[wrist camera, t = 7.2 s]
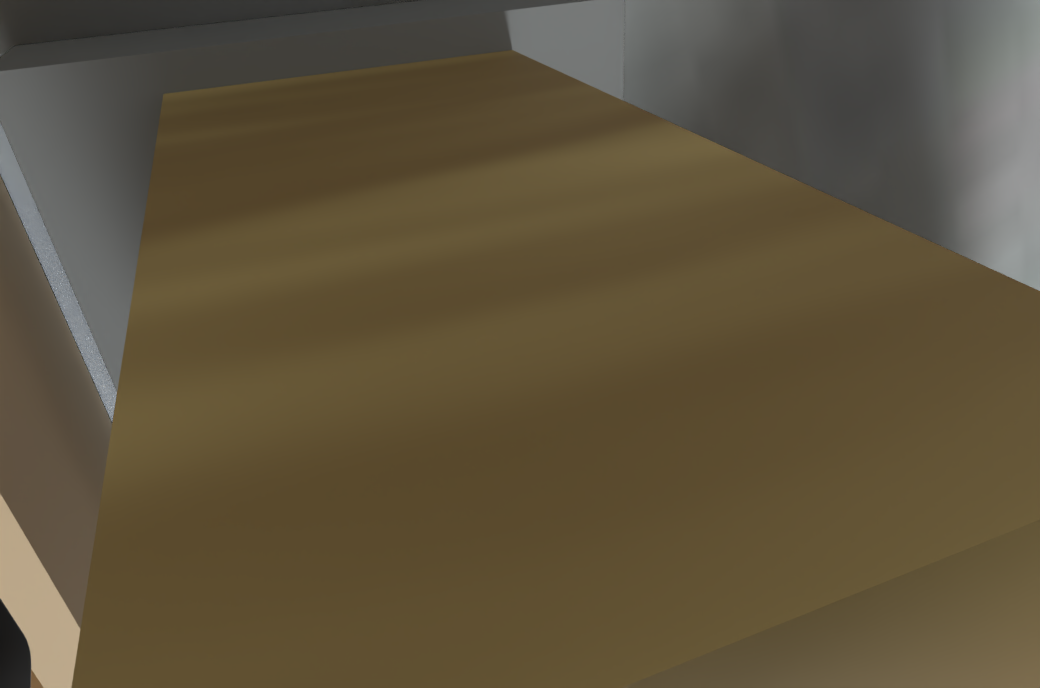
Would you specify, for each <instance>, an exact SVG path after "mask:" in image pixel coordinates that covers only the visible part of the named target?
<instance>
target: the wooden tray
mask: <svg viewBox="0 0 1040 688" xmlns="http://www.w3.org/2000/svg"><path fill="white" fill-rule="evenodd" d="M111 429H112V423H111V421H110V418H109V416H108V414H107V412H106V409H105V407H104V405H103V403H102V401H101V398H100V396H99V394H98V392H97V389H96V387H95V385H94V383H93V381H92V378H91V376H90V374H89V372H88V369H87V367H86V365H85V363H84V361H83V358H82V356H81V354H80V352H79V349H78V347H77V345H76V343H75V340H74V338H73V336H72V334H71V332H70V329H69V327H68V325H67V323H66V320H65V318H64V316H63V314H62V312H61V309H60V307H59V305H58V303H57V300H56V298H55V296H54V294H53V292H52V289H51V287H50V285H49V283H48V280H47V278H46V276H45V274H44V272H43V269H42V267H41V265H40V263H39V260H38V258H37V256H36V254H35V251H34V249H33V247H32V245H31V243H30V240H29V238H28V236H27V234H26V231H25V229H24V227H23V225H22V223H21V220H20V218H19V216H18V214H17V211H16V209H15V207H14V205H13V203H12V200H11V198H10V196H9V194H8V191H7V189H6V187H5V185H4V183H3V180H2V178H1V176H0V599H1V600H2V602H3V603H4V605H5V606H6V608H7V609H8V611H9V612H10V614H11V615H12V617H13V618H14V620H15V621H16V623H17V625H18V626H19V628H20V629H21V631H22V632H23V634H24V635H25V637H26V639H27V642H28V645H29V648H30V653H31V688H71V687H72V681H73V674H74V668H75V661H76V655H77V648H78V642H79V635H80V629H81V623H82V616H83V610H84V603H85V597H86V590H87V584H88V577H89V571H90V564H91V558H92V552H93V545H94V539H95V532H96V526H97V519H98V513H99V506H100V500H101V494H102V487H103V481H104V474H105V468H106V461H107V455H108V448H109V442H110V435H111Z"/></svg>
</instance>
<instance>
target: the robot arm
mask: <svg viewBox="0 0 1040 688" xmlns="http://www.w3.org/2000/svg"><path fill="white" fill-rule="evenodd" d="M0 688H31V653H30V648H29V645H28V642H27V639H26V637H25V635H24V634H23V632H22V631H21V629H20V628H19V626H18V625H17V623H16V621H15V620H14V618H13V617H12V615H11V614H10V612H9V611H8V609H7V608H6V606H5V605H4V603H3V602H2V600H1V599H0Z"/></svg>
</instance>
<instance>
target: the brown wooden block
mask: <svg viewBox="0 0 1040 688" xmlns="http://www.w3.org/2000/svg"><path fill="white" fill-rule="evenodd" d="M71 688H1040V291H1038V290H1036V289H1034V288H1032V287H1029V286H1027V285H1025V284H1023V283H1021V282H1018V281H1016V280H1014V279H1012V278H1010V277H1007V276H1005V275H1003V274H1001V273H999V272H997V271H994V270H992V269H990V268H988V267H986V266H983V265H981V264H979V263H977V262H975V261H973V260H970V259H968V258H966V257H964V256H962V255H959V254H957V253H955V252H953V251H951V250H948V249H946V248H944V247H942V246H940V245H938V244H935V243H933V242H931V241H929V240H927V239H924V238H922V237H920V236H918V235H916V234H913V233H911V232H909V231H907V230H905V229H903V228H900V227H898V226H896V225H894V224H892V223H889V222H887V221H885V220H883V219H881V218H879V217H876V216H874V215H872V214H870V213H868V212H865V211H863V210H861V209H859V208H857V207H854V206H852V205H850V204H848V203H846V202H844V201H841V200H839V199H837V198H835V197H833V196H830V195H828V194H826V193H824V192H822V191H820V190H817V189H815V188H813V187H811V186H809V185H806V184H804V183H802V182H800V181H798V180H795V179H793V178H791V177H789V176H787V175H785V174H782V173H780V172H778V171H776V170H774V169H771V168H769V167H767V166H765V165H763V164H761V163H758V162H756V161H754V160H752V159H750V158H747V157H745V156H743V155H741V154H739V153H736V152H734V151H732V150H730V149H728V148H726V147H723V146H721V145H719V144H717V143H715V142H712V141H710V140H708V139H706V138H704V137H701V136H699V135H697V134H695V133H693V132H691V131H688V130H686V129H684V128H682V127H680V126H677V125H675V124H673V123H671V122H669V121H667V120H664V119H662V118H660V117H658V116H656V115H653V114H651V113H649V112H647V111H645V110H642V109H640V108H638V107H636V106H634V105H632V104H629V103H627V102H625V101H623V100H621V99H618V98H616V97H614V96H612V95H610V94H608V93H605V92H603V91H601V90H599V89H597V88H594V87H592V86H590V85H588V84H586V83H583V82H581V81H579V80H577V79H575V78H573V77H570V76H568V75H566V74H564V73H562V72H559V71H557V70H555V69H553V68H551V67H549V66H546V65H544V64H542V63H540V62H538V61H535V60H533V59H531V58H529V57H527V56H524V55H522V54H520V53H518V52H516V51H514V50H508V51H500V52H492V53H484V54H476V55H468V56H460V57H453V58H445V59H437V60H429V61H421V62H413V63H405V64H397V65H389V66H381V67H373V68H365V69H357V70H349V71H342V72H334V73H326V74H318V75H310V76H302V77H294V78H286V79H278V80H270V81H262V82H254V83H246V84H238V85H231V86H223V87H215V88H207V89H199V90H191V91H183V92H175V93H167V94H163V100H162V106H161V113H160V119H159V126H158V132H157V139H156V145H155V152H154V158H153V165H152V171H151V177H150V184H149V190H148V197H147V203H146V210H145V216H144V223H143V229H142V235H141V242H140V248H139V255H138V261H137V268H136V274H135V281H134V287H133V294H132V300H131V306H130V313H129V319H128V326H127V332H126V339H125V345H124V352H123V358H122V364H121V371H120V377H119V384H118V390H117V397H116V403H115V410H114V416H113V423H112V429H111V435H110V442H109V448H108V455H107V461H106V468H105V474H104V481H103V487H102V494H101V500H100V506H99V513H98V519H97V526H96V532H95V539H94V545H93V552H92V558H91V564H90V571H89V577H88V584H87V590H86V597H85V603H84V610H83V616H82V623H81V629H80V635H79V642H78V648H77V655H76V661H75V668H74V674H73V681H72V687H71Z"/></svg>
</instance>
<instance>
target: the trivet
mask: <svg viewBox="0 0 1040 688" xmlns="http://www.w3.org/2000/svg"><path fill="white" fill-rule="evenodd" d="M624 30H625V0H419V1H410V2H401V3H393V4H384V5H375V6H366V7H357V8H348V9H339V10H330V11H321V12H312V13H303V14H294V15H285V16H276V17H267V18H259V19H250V20H241V21H232V22H223V23H214V24H205V25H196V26H187V27H178V28H169V29H160V30H151V31H142V32H133V33H125V34H116V35H107V36H98V37H89V38H80V39H71V40H62V41H53V42H44V43H35V44H26V45H17V46H14V47H13V48H11V49H10V50H9V51H8V52H6V53H5V54H4V55H3V56H1V57H0V122H1V124H2V127H3V129H4V131H5V134H6V136H7V138H8V141H9V143H10V145H11V148H12V150H13V152H14V155H15V157H16V159H17V162H18V164H19V166H20V168H21V171H22V173H23V175H24V178H25V180H26V182H27V185H28V187H29V189H30V192H31V194H32V196H33V199H34V201H35V203H36V205H37V208H38V210H39V212H40V215H41V217H42V219H43V222H44V224H45V226H46V229H47V231H48V233H49V236H50V238H51V240H52V243H53V245H54V247H55V249H56V252H57V254H58V256H59V259H60V261H61V263H62V266H63V268H64V270H65V273H66V275H67V277H68V280H69V282H70V284H71V286H72V289H73V291H74V293H75V296H76V298H77V300H78V303H79V305H80V307H81V310H82V312H83V314H84V317H85V319H86V321H87V324H88V326H89V328H90V330H91V333H92V335H93V337H94V340H95V342H96V344H97V347H98V349H99V351H100V354H101V356H102V358H103V361H104V363H105V365H106V367H107V370H108V372H109V374H110V377H111V379H112V381H113V384H114V386H115V388H116V391H117V390H118V384H119V377H120V371H121V364H122V358H123V352H124V345H125V339H126V332H127V326H128V319H129V313H130V306H131V300H132V294H133V287H134V281H135V274H136V268H137V261H138V255H139V248H140V242H141V235H142V229H143V223H144V216H145V210H146V203H147V197H148V190H149V184H150V177H151V171H152V165H153V158H154V152H155V145H156V139H157V132H158V126H159V119H160V113H161V106H162V100H163V94H167V93H175V92H183V91H191V90H199V89H207V88H215V87H223V86H231V85H238V84H246V83H254V82H262V81H270V80H278V79H286V78H294V77H302V76H310V75H318V74H326V73H334V72H342V71H349V70H357V69H365V68H373V67H381V66H389V65H397V64H405V63H413V62H421V61H429V60H437V59H445V58H453V57H460V56H468V55H476V54H484V53H492V52H500V51H508V50H514V51H516V52H518V53H520V54H522V55H524V56H527V57H529V58H531V59H533V60H535V61H538V62H540V63H542V64H544V65H546V66H549V67H551V68H553V69H555V70H557V71H559V72H562V73H564V74H566V75H568V76H570V77H573V78H575V79H577V80H579V81H581V82H583V83H586V84H588V85H590V86H592V87H594V88H597V89H599V90H601V91H603V92H605V93H608V94H610V95H612V96H614V97H616V98H618V99H621V100H623V91H624Z"/></svg>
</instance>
